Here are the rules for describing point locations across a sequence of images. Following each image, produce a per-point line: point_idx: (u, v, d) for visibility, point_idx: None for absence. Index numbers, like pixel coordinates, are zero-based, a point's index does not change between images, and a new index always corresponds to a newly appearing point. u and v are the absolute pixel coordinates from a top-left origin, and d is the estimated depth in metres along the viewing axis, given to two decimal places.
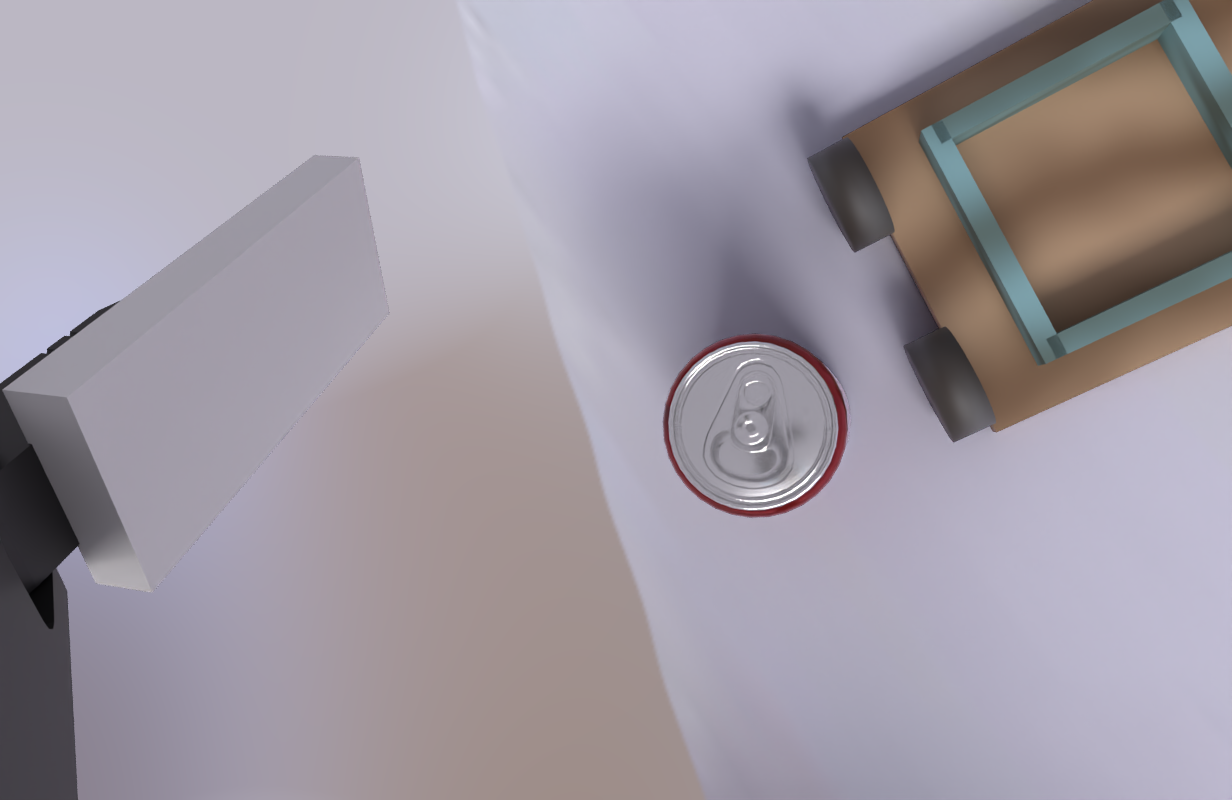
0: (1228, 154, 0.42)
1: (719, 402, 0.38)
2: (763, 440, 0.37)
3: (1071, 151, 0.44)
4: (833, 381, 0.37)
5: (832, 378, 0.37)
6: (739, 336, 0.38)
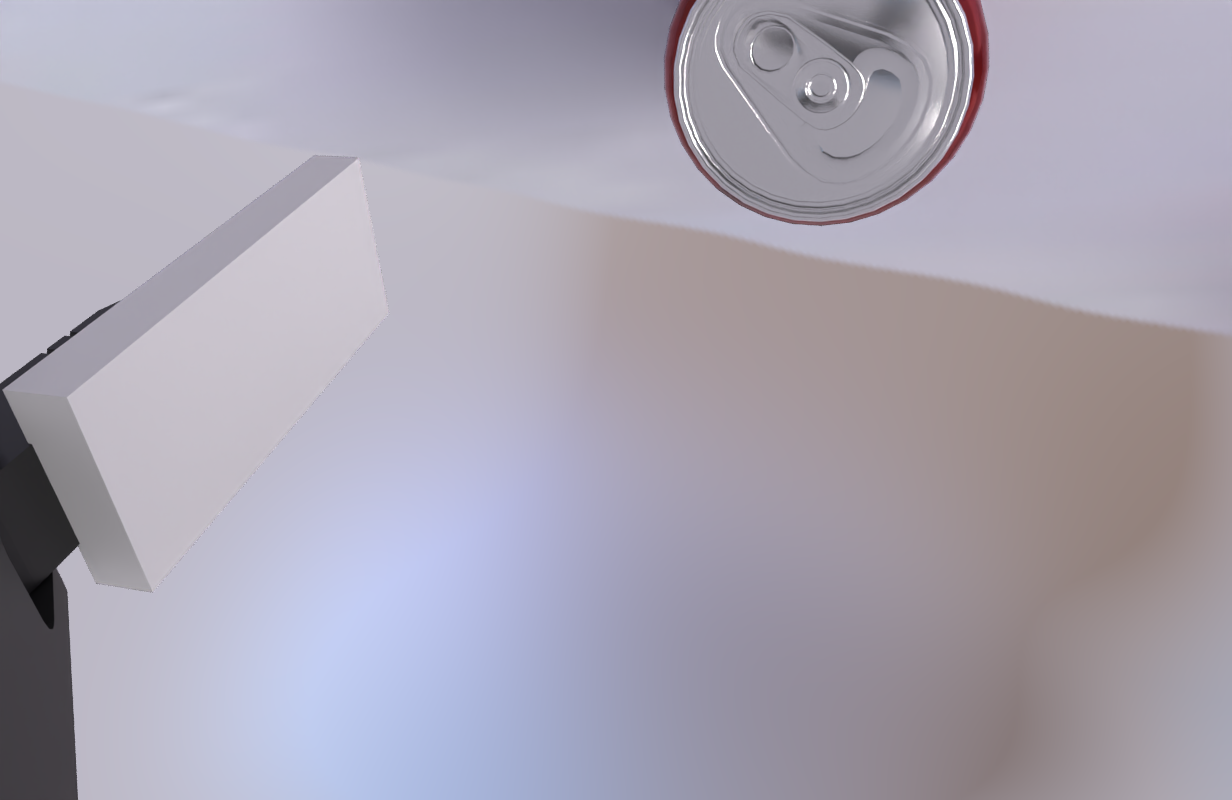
0: None
1: (754, 113, 0.22)
2: (850, 78, 0.21)
3: None
4: None
5: None
6: (672, 26, 0.22)
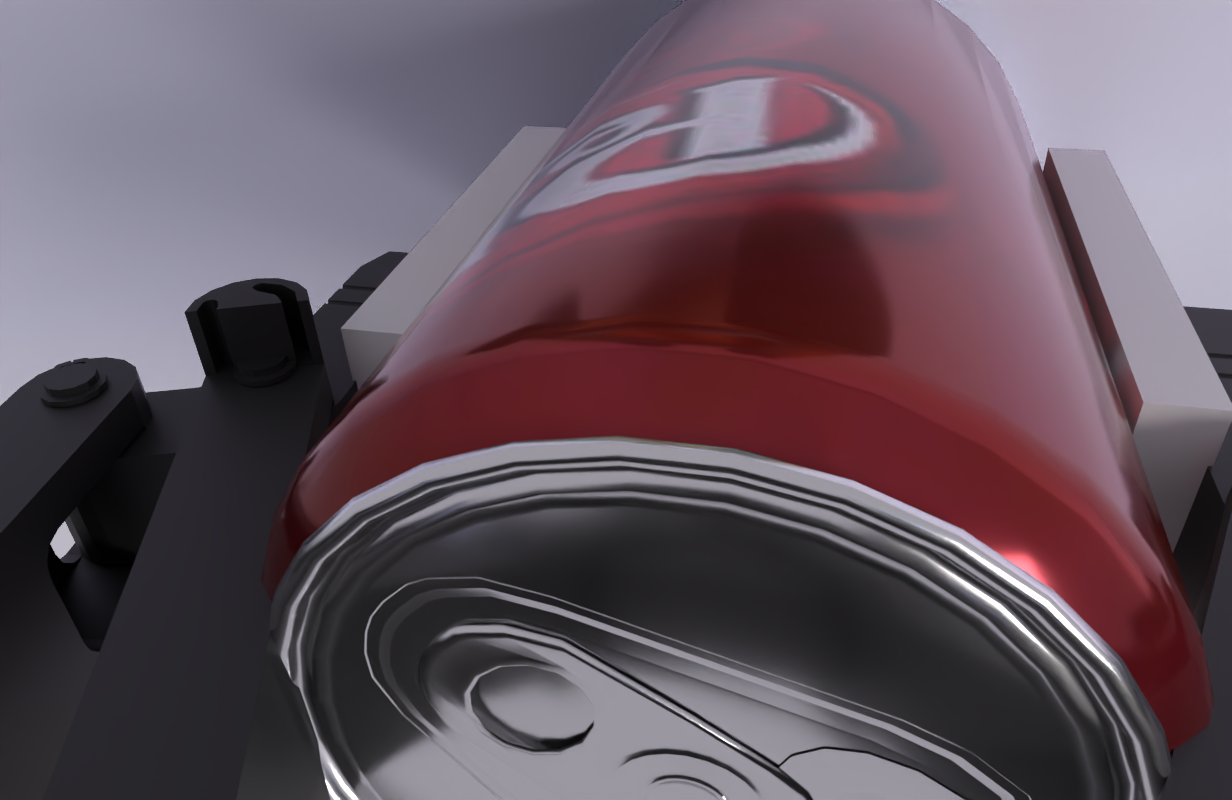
0: None
1: None
2: (774, 797, 0.07)
3: None
4: (658, 359, 0.05)
5: (637, 354, 0.06)
6: None
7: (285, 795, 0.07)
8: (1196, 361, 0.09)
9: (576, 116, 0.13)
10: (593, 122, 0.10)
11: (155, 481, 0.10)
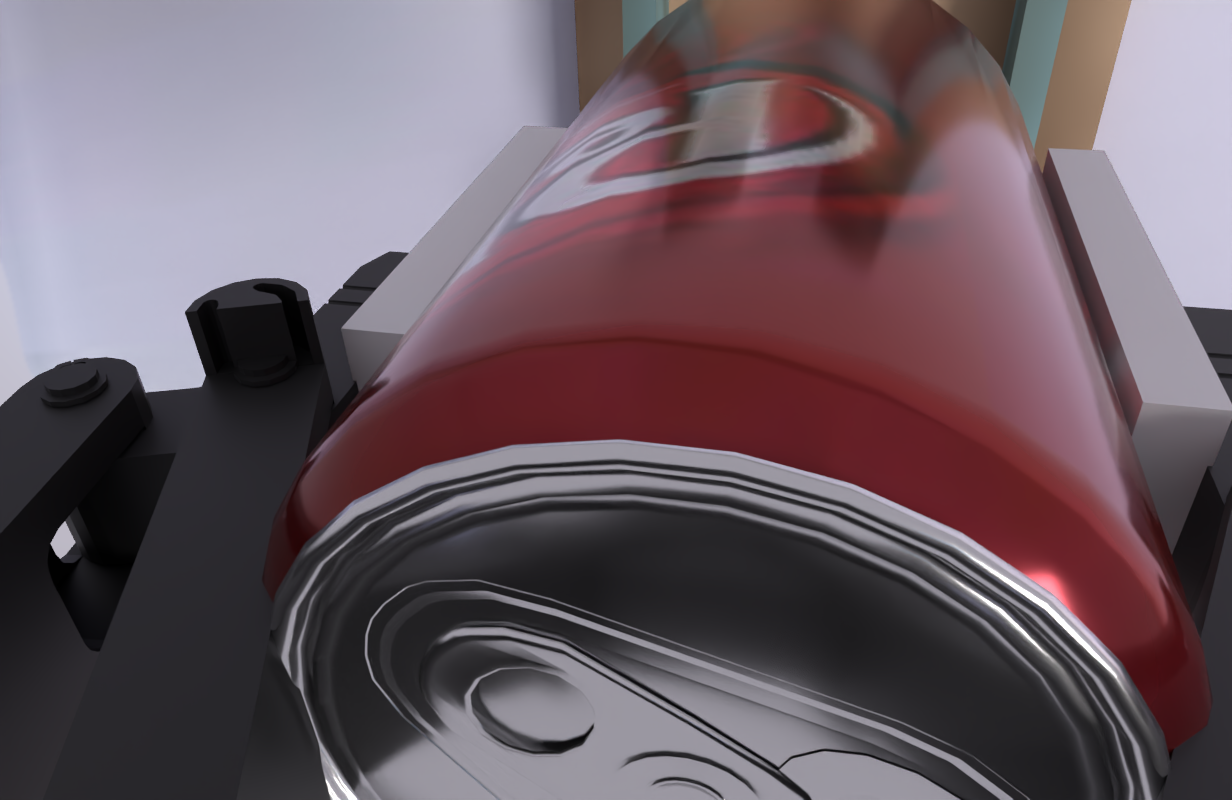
0: None
1: None
2: (773, 799, 0.07)
3: None
4: (658, 363, 0.05)
5: (638, 357, 0.06)
6: None
7: (285, 795, 0.07)
8: (1195, 361, 0.09)
9: (576, 118, 0.13)
10: (593, 124, 0.10)
11: (155, 481, 0.10)
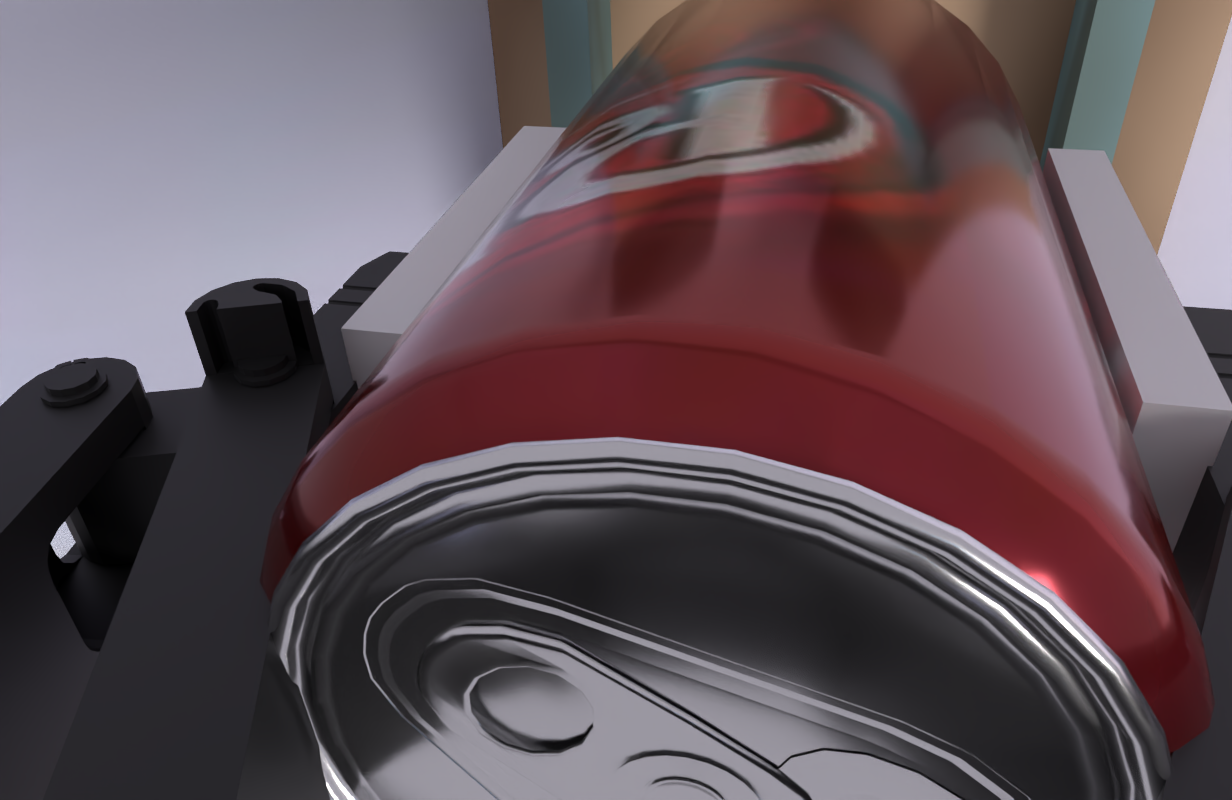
0: None
1: None
2: (773, 797, 0.07)
3: None
4: (658, 360, 0.05)
5: (637, 355, 0.05)
6: None
7: (285, 796, 0.07)
8: (1195, 361, 0.09)
9: (576, 116, 0.13)
10: (593, 122, 0.10)
11: (156, 481, 0.10)
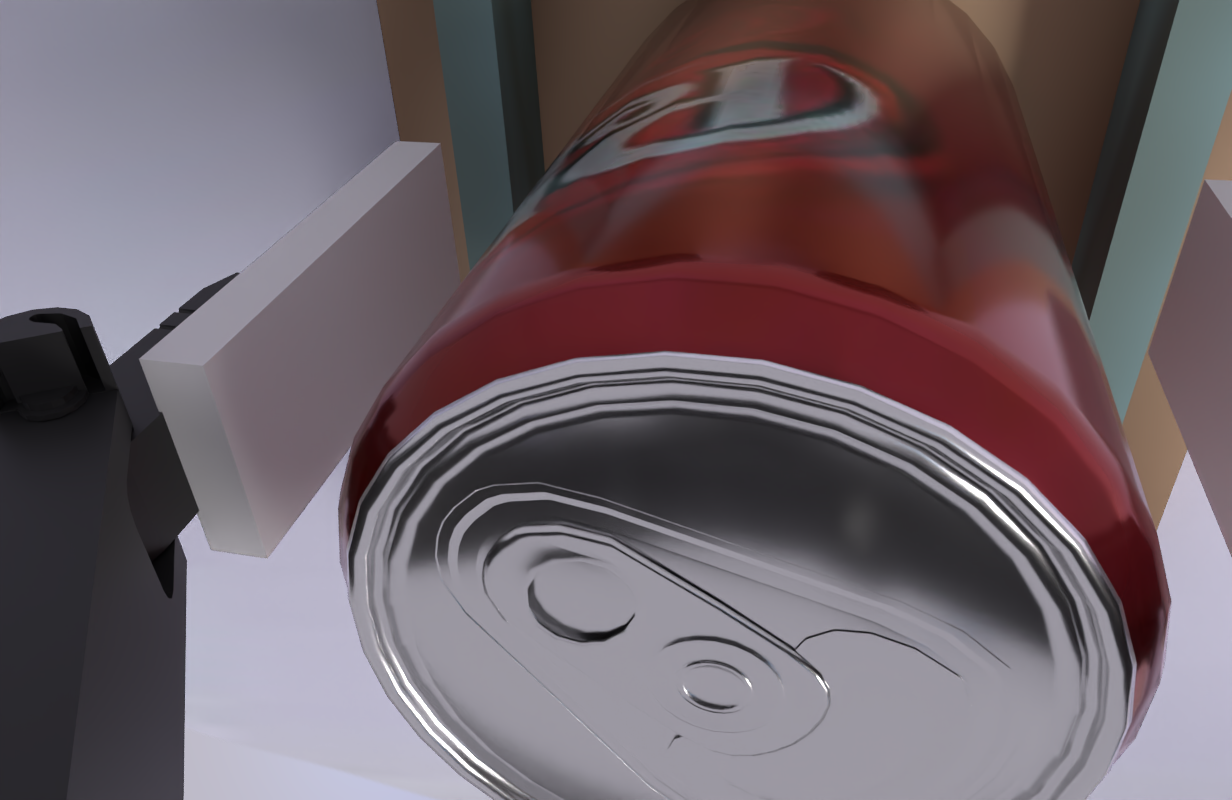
0: None
1: (555, 699, 0.09)
2: (790, 679, 0.08)
3: None
4: (697, 288, 0.07)
5: (680, 284, 0.07)
6: (340, 502, 0.09)
7: None
8: None
9: (602, 97, 0.14)
10: (623, 100, 0.11)
11: None
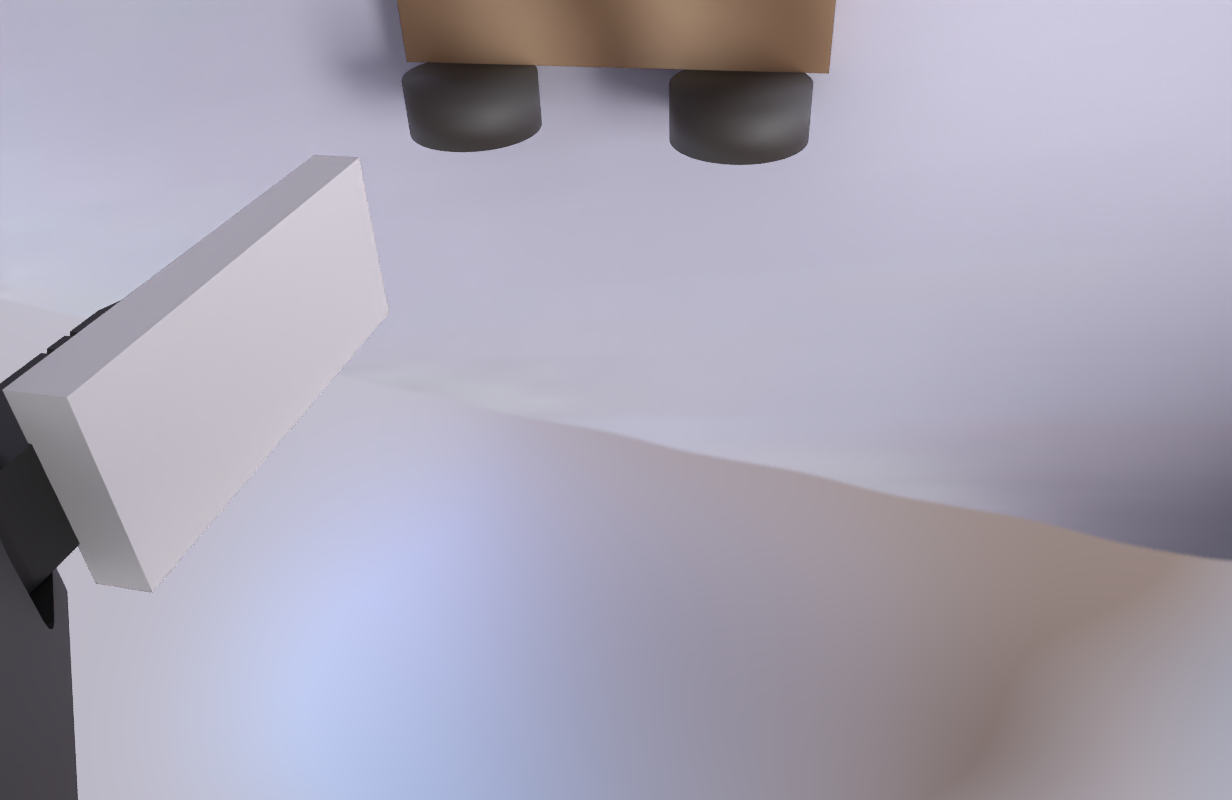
0: None
1: None
2: None
3: None
4: None
5: None
6: None
7: None
8: None
9: None
10: None
11: None
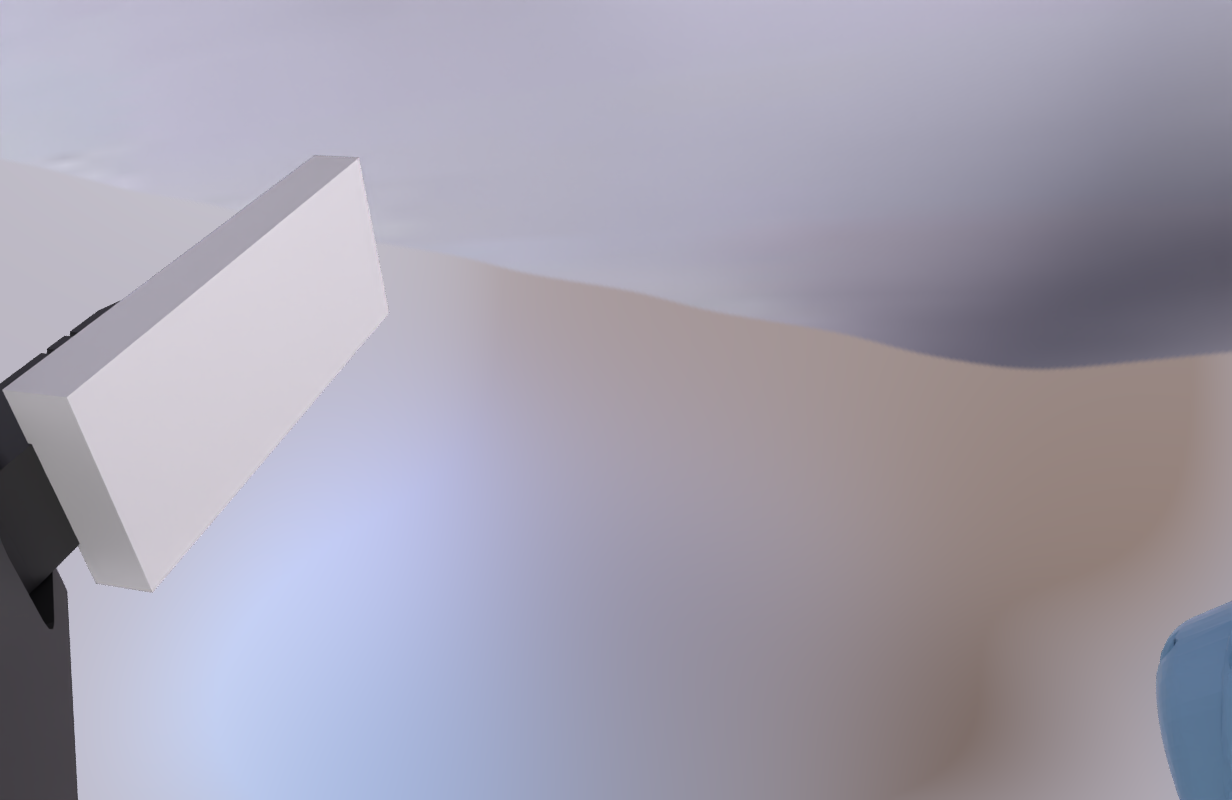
0: None
1: None
2: None
3: None
4: None
5: None
6: None
7: None
8: None
9: None
10: None
11: None
